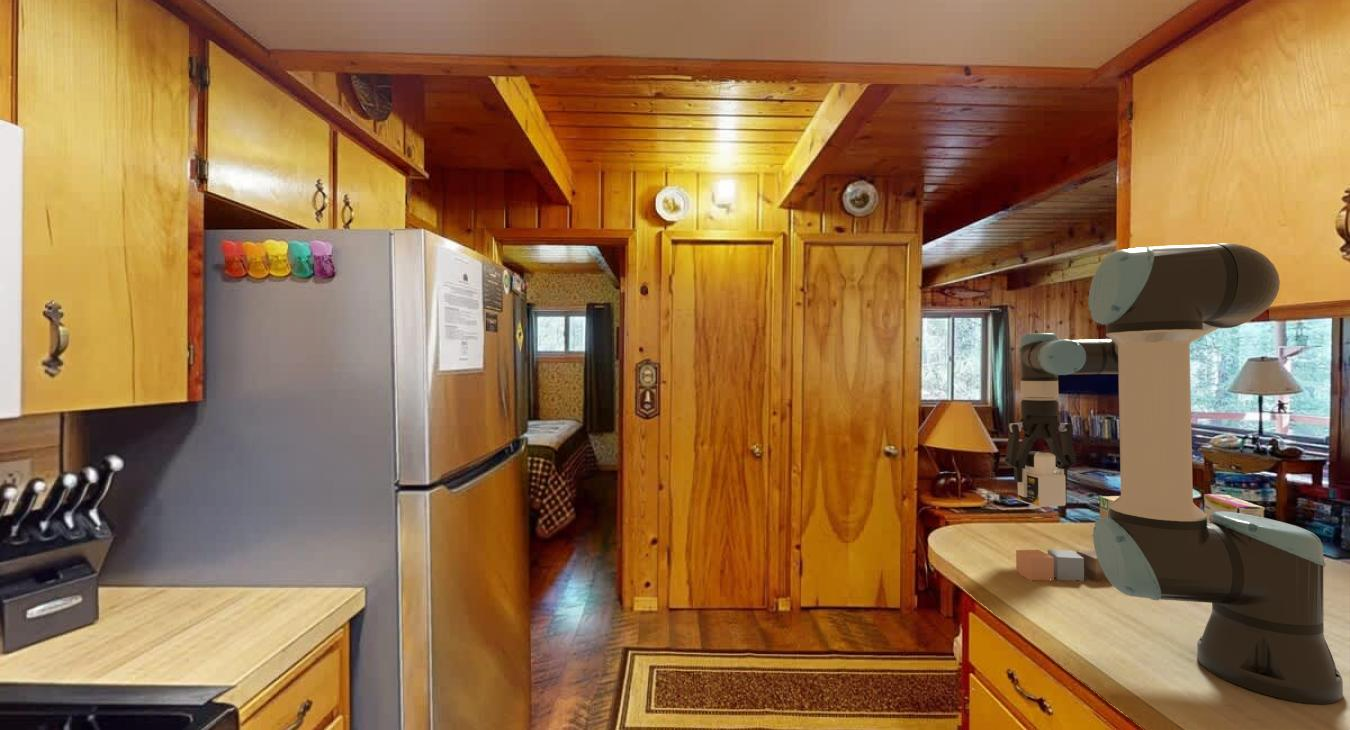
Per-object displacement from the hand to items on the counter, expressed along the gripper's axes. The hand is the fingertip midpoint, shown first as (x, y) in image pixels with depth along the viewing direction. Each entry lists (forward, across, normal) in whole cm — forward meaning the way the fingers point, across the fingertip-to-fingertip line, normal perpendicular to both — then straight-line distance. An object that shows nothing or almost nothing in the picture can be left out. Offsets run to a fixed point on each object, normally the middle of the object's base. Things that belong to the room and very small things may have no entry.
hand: (1040, 495), depth 136 cm
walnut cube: (+15, -6, +10) cm, 19 cm away
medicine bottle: (+2, 0, 0) cm, 2 cm away
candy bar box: (+15, -35, +10) cm, 39 cm away
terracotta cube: (+15, +7, +10) cm, 20 cm away
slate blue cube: (+15, +1, +10) cm, 18 cm away
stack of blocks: (+15, -33, -14) cm, 39 cm away
